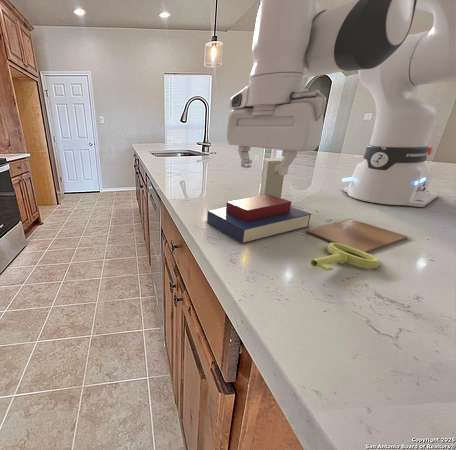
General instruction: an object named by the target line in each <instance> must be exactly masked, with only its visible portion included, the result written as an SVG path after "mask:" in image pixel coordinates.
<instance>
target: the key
mask: <svg viewBox="0 0 456 450" xmlns="http://www.w3.org/2000/svg"><path fill="white" fill-rule="evenodd" d="M326 249H327V252H328V253H329V254H330V255H327V256H322V257H317V258H314V259H311V260H310V262H309V263H310V266H311V267H312V268H321V269H322V270H324V271H326V272H329V271H333V270H334V266H331V265H330V264H335V263H337V264H344V263H350V264H352V265H356V266H358V267H362V268H366V269H377V268H378V267H379V266H380V263H381V260H380V258H378V257H376V256H374V255H373V254H370V253H369V252H363V251H360V250H358V249H355V248H352V247H349V246H346V245H343V244H339V243H332V242H329V243H328V245H327V248H326Z"/></svg>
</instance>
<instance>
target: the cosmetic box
mask: <svg viewBox="0 0 456 450" xmlns="http://www.w3.org/2000/svg"><path fill="white" fill-rule="evenodd" d="M282 160H283V158H281V157H270V158H269V157H264V158H263V161H262V162H263V163H262V171H261V180H260V190H259V196H263V195H271V196H275V197H278V198H281V199H282V194H283V193H282V192H283V185H284V179H285V175H277V174H275V173H274V172H275V166H276V165H280V163H281V161H282Z"/></svg>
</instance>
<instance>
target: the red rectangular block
mask: <svg viewBox="0 0 456 450" xmlns="http://www.w3.org/2000/svg"><path fill="white" fill-rule="evenodd" d="M225 207H226V212H227V213H229V214H231V215H233V216H236V217H238V218H240V219H242V220H244V221H251V220H255V219H260V218H265V217H269V216H274V215H278V214H283V213H287V212H290V207H292V201H291V200H288V199H284V198H282V197H281V198H278V197H275V196H271V195H263V196H260V195H258V196H252V197H247V198H241V199H235V200H230V201H226V205H225Z"/></svg>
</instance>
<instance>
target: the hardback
mask: <svg viewBox="0 0 456 450" xmlns="http://www.w3.org/2000/svg"><path fill="white" fill-rule="evenodd" d="M206 215H207V218H206V223H207V224H208V225H210V226H212V227H214V228H216V229H217V230H218V231H221V232H222V233H224V234H226V235H227V236H228V237H230V238H232V239H234V240H236V241H237V242H239V243H241V244H246V243H250V242H254V241H257V240H261V239H265V238H269V237H272V236H277V235H281V234H284V233H288V232H293V231H296V230H300V229H303V228H308V227H309V224H310V221H311V216H312V213H310V212H306V211H304V210H301V209H298V208H295V207H292V206H291V207H290V212H287V213H283V214H278V215H274V216H269V217H265V218H260V219H255V220H251V221H244V220H242V219H240V218H238V217H236V216H233V215H231V214H229V213H227V212H226V206H225V207H220V208H215V209H209V210H207V214H206Z"/></svg>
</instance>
